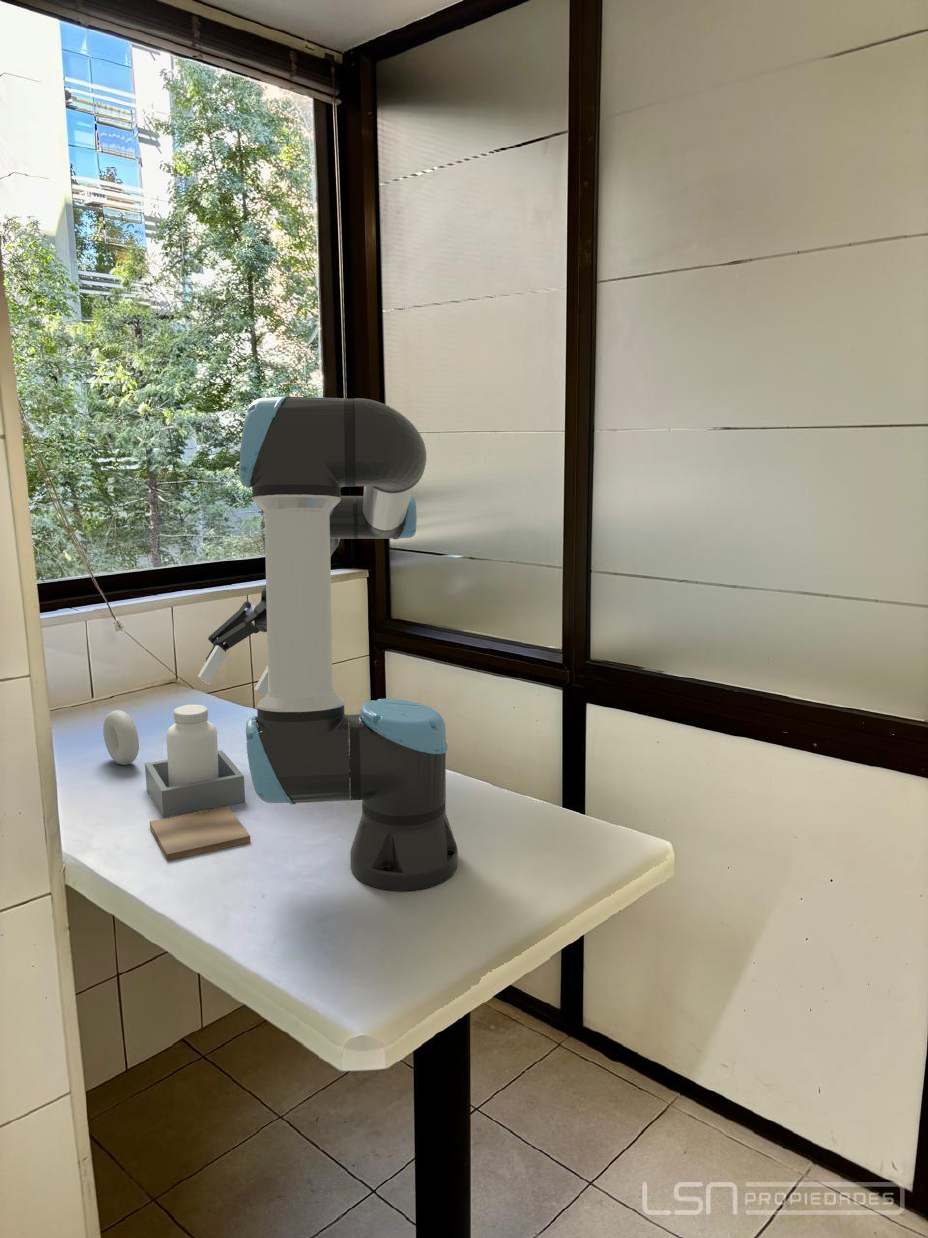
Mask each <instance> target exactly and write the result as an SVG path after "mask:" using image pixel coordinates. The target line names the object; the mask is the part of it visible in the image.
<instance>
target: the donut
mask: <svg viewBox="0 0 928 1238" xmlns="http://www.w3.org/2000/svg"><path fill="white" fill-rule="evenodd" d="M102 729H103V738H104V740H103V741H104V743H105V748H106V750H107V752H108V754H109V756H110V757H111V759H112V760H113V762H115V763H116V764H119V765H122V766H129V765H130V764H132V763H133V762H134V761H135V760H136V759H137V757H138V754H139V750H140V740H139V735H138V733H139V732H138V730H137V727H136V725H135V722H134V720H133V719H132V718H131V715H129V714H128V713H127V712H125V711H124V710H120V709H117V710H116V709H115V710H112V711H110V712H109V713H107V715H106V717H105V719H104V720H103V728H102Z"/></svg>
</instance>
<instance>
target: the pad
mask: <svg viewBox="0 0 928 1238" xmlns="http://www.w3.org/2000/svg"><path fill="white" fill-rule="evenodd" d="M149 828H150V831H151V832H152V834H153V836H154V838H155V839H156V842H157V845H158V846H159V848H160V849H161V852H162V853H163V856H164V857H165V859H166V860H167V862H168V861H174V860H176V859H182V858H187V857H191V856H194V855H199V854H204V853H209V852H213V851H217V850H221V849H225V848H230V847H235V846H239V845H244V844H248V843H251V835H250V834H249V832H248V831H247V830H246V828H245V827H244V825H243V824H242V823H241V822H240V820H239V819H238V818H237V817H236V814H234V812H233V811H232V809H231V808H230V807H229V805H226V806H221V807H216V808H211V809H206V810H201V811H196V812H191V813H186V814H181V815H176V816H171V817H166V818H162V819H161V818H160V819H156V820H151V821H149Z"/></svg>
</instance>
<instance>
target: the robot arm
mask: <svg viewBox="0 0 928 1238" xmlns="http://www.w3.org/2000/svg"><path fill="white" fill-rule="evenodd" d="M424 441H425V440H424V439H423V437H422V435H421V434H420V432H419V430H418V429H417V428H416V426H415V425H414V424H413V423H412V422H411V420H409V419H408V418H407V417H406V416H404V415H403V414H402V413H401V412H399V411H397V410H396V409H394V408H393V407H391V406H389V405H387V404H385V403H382V402H379V401H376V400H373V399H368V398H359V397H358V398H357V397H356V398H355V397H354V398H342V397H341V398H340V397H315V396H313V397H312V396H310V397H309V396H287V395H282V396H279V397H265V398H264V397H263V398H262V397H261V398H257V399H255V400H254V401H252V402H251V403H250V405H249V406H248V408H247V410H246V412H245V416H244V421H243V428H242V433H241V442H240V449H239V451H240V452H239V464H240V465H239V482H240V484H241V485H242V486H243V487H246V488H247V489H250V488H251V489H252V492H251V493H252V494H251V495H252V496H251V497H252V499H251V500H252V501H253V502H254V504H256V505H257V506H258V507H259V509H261V510H262V512H263V514H264V515H263V516H264V539H265V540H264V543H265V544H264V546H265V547H264V548H265V550H264V551H265V552H264V554H265V585H264V587H263V589H262V591H261V592H260V593H261V599H260V601H259V603H258V604H256V605H254V604H252V603H251V602H250V601H249V600H246V601H244V602H243V603H242V604H241V606H240V608H239V609H238V610H237V611H236V612H235V613H234V614H233V615H232V616H231V617H229V618H227V620H226V621H225V622H223V624H221V625H220V626H219V627H218V628H216V630H214V632H213V633H211V634H210V635H209V636H208V638H207V639H208V640H207V641H209V642H210V643H211V644H212V646H213V647H212V648H211V650H210V651H209V653H208V655H207V657H206V658H205V662H204V664H203V666H202V667H201V669H200V671H199V673H198V675H197V678H199V679H200V681H202V682H203V683H204V684H205V685H207V686H208V685H211V683H212V681H213V679H214V678H215V677H216V675H217V673H218V670H219V669H220V668H221V666H222V665H223V663H224V661H225V659H226V658H227V656H228V650H230V649H231V648H233V647H234V646H235V645H237V644H238V643H240V642H241V641H243V640H245V639H247V638H248V637H250V636H251V635H252V634H258V633H260V632H261V633H266V637H267V638H266V641H267V642H266V643H267V644H266V646H267V665H266V668H265V669H264V671H263V672H262V675H260V676H261V677H260V678H259V680H258V682H257V683H256V685H255V687H254V689H253V690H254V692H256V693H257V694H258V695H259V696H260V697H261V699H260V701H259V702H258V703H257V705H256V709H257V710H256V711H257V712H256V714H257V715H253V716H252V717H249V718H248V719H247V721H246V724H245V736H246V738H245V739H246V751H247V752H246V754H247V759H248V766H249V767H248V768H249V771H250V772H249V773H250V778H251V780H252V781H251V782H252V785H253V788H254V791H255V794H256V795H257V796H258V798H259V799H260V800H261V801H262V802H265V803H269V804H289V805H291V806H292V805H293V806H294V805H297V804H301V803H302V804H303V803H325V802H328V803H329V802H347V801H361V804H362V805H361V808H362V809H361V813H362V814H361V817H360V820H359V823H358V827H357V828H356V829H357V830H356V832H355V834H354V835H355V836H354V839H353V842H352V844H351V848H350V854H349V855H350V857H349V858H350V859H349V860H350V862H349V863H350V864H349V865H350V870H351V873H352V874H353V875H354V877H355V878H357V880H359V881H360V882H361V883H364V884H366V885H368V886H371V887H374V888H376V889H377V888H378V889H381V890H387V891H402V892H403V891H412V890H413V891H417V890H422V889H427V888H430V887H433V886H437V885H439V884H442V883H444V882H445V881H446V880H448V879H449V878H451V876H453V875H454V873H455V872H456V871H457V869H458V866H459V865H458V858H459V855H458V854H459V852H458V851H459V850H458V845H457V842H456V839H455V836H454V834H453V830H452V827H451V825H450V822H449V819H448V815H447V811H446V810H447V808H446V803H447V801H446V798H447V797H446V796H447V795H446V794H447V791H446V790H447V788H446V785H447V783H446V782H447V779H446V778H447V777H446V776H447V775H446V769H447V767H446V764H447V763H446V762H447V760H446V759H447V755H446V754H447V751H448V748H449V747H448V743H447V737H446V736H447V735H446V730H447V729H446V723H445V720H444V717H442V715H441V714H440V713H439V712H438V711H437V710H435V709H433V708H432V707H431V706H430V707H429V706H427V705H425V704H422V703H420V702H415V701H411V700H405V699H399V698H378V699H376V700H375V699H374V700H373V699H372V700H369V701H366V702H364V703H363V704H362V705H361V709H360V710H359V711H358V712H359V714H346V713H345V700H344V699H343V698H341V696H340V695H338V694H337V693H336V691H334V682H333V681H334V680H333V677H334V675H333V673H334V671H333V631H332V630H333V627H332V624H333V623H332V620H333V619H332V618H333V617H332V582H331V581H332V577H331V575H332V574H331V571H332V570H331V568H332V567H331V557H332V555H333V553H334V552H335V551H336V549H337V548H338V547H339V543H340V542H341V541H340V540H341V539H342V540H345V539H347V540H349V539H352V540H355V539H356V540H358V539H361V540H362V539H366V540H367V539H370V540H371V539H378V540H380V539H381V540H382V539H383V540H384V539H388V540H391V539H392V540H399V539H411V538H413V537H414V536H415V535H416V533H417V522H418V521H417V517H418V516H417V503H416V500H415V498H414V497H413V496H411V495H412V492H413V488H414V487H415V486H416V485H417V484H418V483H419V481H420V480H421V478H422V477H423V476H424V475H423V474H424V473H425V469H426V465H427V450H426V444H425V442H424ZM344 487H345V488H346V487H349V488H351V487H352V488H354V487H363V495H342V494H341V489H342V488H344Z"/></svg>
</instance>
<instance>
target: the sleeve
mask: <svg viewBox="0 0 928 1238" xmlns="http://www.w3.org/2000/svg"><path fill="white" fill-rule="evenodd" d="M144 771H145V772H144V773H145V783H146V784H145V785H146V791H147V792H148V794H149V795H150V797H151V799H152V801H153V802H154V804H155V806H156V808H157V809H158V812H159V813H160V815H161V817H162V819H165V818H170V817H175V816H180V815H185V814H190V813H195V812H200V811H205V810H210V809H215V808H220V807H225V806H231V805H235V804H240V803H244V802H245V803H246V795H245V793H246V792H245V775H244V774H243V773H242V772H241V770H239V768H238V767H237V766H236V764H234V762H233V761H232V760H231V759H230V758H229V756H228V755H227V754H226V753H225V752H224V751H223V750H218V772H219V778H216V779H211V780H206V781H200V782H195V783H189V784H184V785H179V786H173V787H169V775H168V759H164V760H157V761H151V762H146V763H144Z"/></svg>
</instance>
